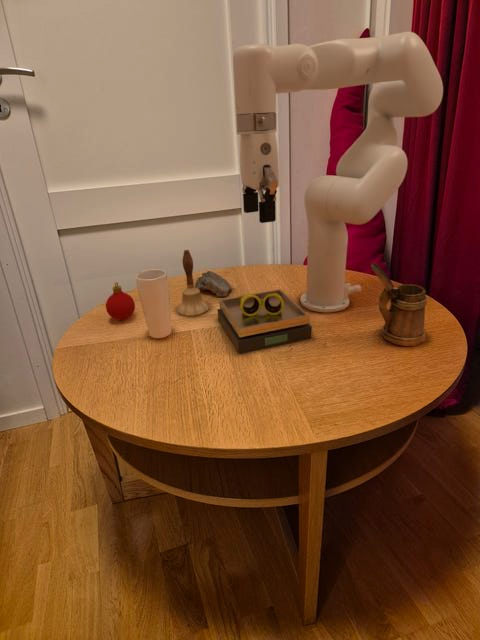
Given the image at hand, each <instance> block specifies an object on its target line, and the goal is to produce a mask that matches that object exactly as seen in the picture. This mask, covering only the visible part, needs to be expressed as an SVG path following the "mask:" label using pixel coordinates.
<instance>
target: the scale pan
mask: <svg viewBox="0 0 480 640" xmlns="http://www.w3.org/2000/svg"><path fill="white" fill-rule="evenodd" d="M272 293H277V294H279V295H280V296H281V298H282V299H283V302H284V308H283V310H282V312H281V313H279V314H277V315H270V314H268V313H267V312H265V310H264V308H263V305H261V309H260V311H259V312H258V313H257V314H256V315H254V316H246V315H244V314H243V313H242V311H241V308H240V304H241V299H242V297H243V296H244V295H240V296H233V297H228V298H222V299H219V300H218V304H219V309H221V310H222V312H223V313H224V315H225V316H226V318H227V319H228V321H229V322H230V324H231V325H232V327H233V328H234V330H235V331H236V333H237V335H238V336H239V337H245V336H250V335H254V334H259V333H264V332H269V331H274V330H279V329H284V328H289V327H294V326H299V325H304V324H310V315H309V314H308V313H307V312H306V311H305V310H304V309H303V308H301V306H299V305H298V304H297V303H296V302H295V301H294V300H293V299H292V298H290V297H289V296H288V295H287V294H286V292H284V291H283V289H281V288H278V289H273V290H268V291H262V292H257V293H256V292H255V293H251V294H252V295H256V296H257V297H258V298H259V299H260V300H263V299H264V298H265V296H267V295H268V294H272ZM249 294H250V293H249ZM251 294H250V295H251ZM253 303H254V300H253V298H252V297H249V298H247V299H246V300H245V301H244V303H243V305H244V306H245V307H251V306H252V305H253ZM269 303H270V304H271V305H272V306H277V305H279V303H280V300H279V299H278V298H277V297H275V296H271V297H270V298H269ZM266 310H267V309H266Z"/></svg>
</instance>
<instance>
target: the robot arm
mask: <svg viewBox="0 0 480 640" xmlns="http://www.w3.org/2000/svg"><path fill="white" fill-rule="evenodd" d="M232 69H233V87H234V88H233V89H234V105H235V107H234V109H235V131H236V135H240V136H239V137H240V139H239V140H240V141H239V153H240V154H239V162H240V163H239V165H240V179H241V183H242V202H243V203H242V204H243V213H244V214H249V213H250V214H251V213H258V221H259V223H260V224H264V223H265V224H266V223H274V222H276V220H277V217H276V214H277V211H276V210H277V209H276V201H277V192H278V189H277V188H278V187H279V186H280V166H279V152H278V143H277V142H278V141H277V135H276V133H277V95H278V94H288V93H297V92H302V91H307V90H308V91H309V90H312V91H313V90H314V91H315V90H316V91H317V90H319V91H323V90H336V89H343V88H350V87H357V86H365V85H371V84H372V85H373V84H375V85H374V86H373V88H372V89H371V91H370V94H369V97H368V102H367V103H368V105H367V124H366V128H365V129H364V130H363V132H362V133H361V134H360V136H359V137H358V138H357V139H356V140H355V141H354V142H353V144H352V145H351V146H350V147H349V148H348V149H347V150H346V151H345V152H344V154H343V155H341V157H340V159H339V161H338V162H337V165H336V169H335V174H336V175H334V174H333V175H332V174H331V175H329V174H328V175H327V174H325V175H320V176H317V177H315V178H313V179H312V180H311V181H310V182H309V183H308V185H307V186H306V189H305V191H304V197H303V198H304V199H303V201H304V209H305V216H306V222H307V251H306V252H307V254H306V256H307V257H306V258H307V259H306V291H305V292H303V293H302V295H300V298H299V299H300V300H299V301H300V304H301V306H302V307H304V308H305V309H307V310H309V311H313V312H316V313H335V312H336V313H337V312H340V311H343V310H345V309H346V308H348V307H349V305H350V297H349V296H350V295H351V294H357V293H360V292H361V291H362V287H361V285H360V284H354V285H352V283H350V282H349V283H346V270H347V269H346V268H347V252H348V242H349V235H348V230H347V226H346V224H351V225H364V224H366V223H368V222H370V221H371V220H373V218H374V217H375V216H376V215H377V214H378V213H379V212H380V210H382V208H383V207H384V206H385V205H386V203H387V202H388V201H389V200H390V199H391V198H392V196H393V195H394V194H395V193H396V192H397V190H398V189H399V188H400V186H401V185H402V183H403V181H404V180H405V178H406V174H407V171H408V157H407V155H406V152H405V151H404V150H403V149H402V148H401V147H399V146H397V145H398V132H397V129H396V127H395V123H394V118H420V117H427V116H429V115H432V114H434V112H436V111H437V110H438V109H439V106H440V105H441V103H442V100H443V96H444V85H443V84H444V83H443V80H442V78H441V74H440V72H439V70H438V68H437V66H436V64H435V62H434V58H433V57H432V55H431V53H430V51H429V49H428V47H427V46H426V44H425V42H424V41H423V40H422V39H421V37H420V36H419V35H418V34H417V33H415V32H413V31H403V32H398V33H393V34H392V33H391V34H387V35H381V36H372V37H362V38H361V37H360V38H358V37H357V38H338V39H332V40H328V41H323V42H319V43H315V44H311V45H309V46H308V45H306V44H303V43H291V44H284V45H275V46H273V45H269V44H267V43H266V44H265V43H255V44H252V43H251V44H245V45H241V46H239V47H237V48H236V49H235V50H234V51H233V54H232ZM259 199H260V201H259Z"/></svg>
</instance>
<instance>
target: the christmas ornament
mask: <svg viewBox="0 0 480 640" xmlns="http://www.w3.org/2000/svg"><path fill="white" fill-rule="evenodd" d="M135 309H136V303H135V300H134V298H133V297H132V296H131V295H130V294H129V293H126V292H124V291H123V289H122V285H119V282H117V281H116V282H115V283H114V286H113V287H112V294H111V295H110V296H108V298H107V300H106V302H105V310H106V313H107V314H108V315H109V317H111V318H112V319H114V320H116V321H125V320H128V319H129V318H131V317H132V316H133V314H134V312H135Z"/></svg>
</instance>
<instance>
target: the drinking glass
mask: <svg viewBox="0 0 480 640" xmlns="http://www.w3.org/2000/svg"><path fill="white" fill-rule="evenodd" d="M135 281H136V289H137V293H138V297H139V302H140V304H141V308H142V311H143V316H144V320H145V322H146V327H147V331H148V335H149V336H150V337H151V338H153V339H164V338H166V337H168V336H170V335H171V333H172V331H173V330H172V321H171V320H172V319H171V301H170V287H169V279H168V273H167V271H165V270H163V269H160V268H159V269H158V268H153V269H152V268H151V269H146V270H143V271H140V272H139V273H137V274H136V275H135Z"/></svg>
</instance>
